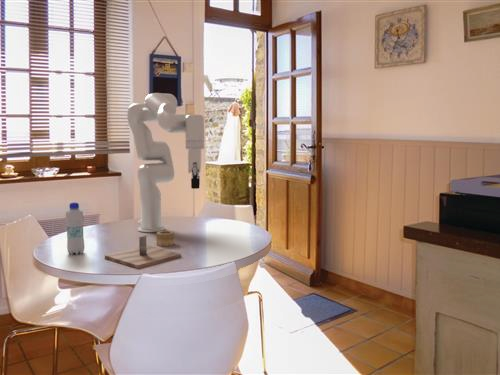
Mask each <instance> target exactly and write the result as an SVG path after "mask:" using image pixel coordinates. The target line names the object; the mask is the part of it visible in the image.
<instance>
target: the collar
mask: <svg viewBox="0 0 500 375" xmlns="http://www.w3.org/2000/svg"><path fill="white" fill-rule="evenodd" d="M174 232H175V231H174V230H173V231H172V230H163V231H158V232H156V246H158V247H170V246H173V245H174V244H175V241H174V240H175V239H174V238H175V235H174V234H175V233H174Z"/></svg>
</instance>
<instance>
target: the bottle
mask: <svg viewBox="0 0 500 375" xmlns="http://www.w3.org/2000/svg"><path fill="white" fill-rule="evenodd" d="M64 218H65V224H66V237H67V244H66V249H67V250H66V251H67V254H69V255H74V253H75V255H77V256H78V255H79V254H80V255H81V254H83V253H84V251H85V240H84V239H85V238H84V220H85V219H84V211H83V210H82V209H80V204H79V203H78V202H71V203H69V209H68V210H66V212H65V217H64Z"/></svg>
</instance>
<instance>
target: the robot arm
mask: <svg viewBox="0 0 500 375" xmlns="http://www.w3.org/2000/svg"><path fill="white" fill-rule="evenodd" d="M177 107H178V100H177V97H176V96H175V95H174V94H172V93H165V92H164V93H161V92H153V93H152V92H151V93H150V94H148V95H147V96H146V97H145V99H144V102H137V103H132V104H131V105H129V106H128V108H127V112H126V114H127V115H126V118H127V122H128V125H129V128H130V130H131V132H132V135H133V136H132V137H133V141H134V145H135V150H136V155H137V158H138V159H139V161H141V162H151V163H144V164H141V165H140V166H139V167H138V169H137V172H136V173H137V178H138V183H139V184H138V185H139V195H140V196H139V198H140V200H139V201H140V220H138V221H137V224H138V225H140V226H138V228H137V230H138V232H141V233H157V232H159V231H165V230H166V227H165V225H162V196H161V195H162V194H161V190H160V188H159V187H158V186H157V184H162V183H163V184H164V183H170V182H172V181H173V180H174V178H175V167H174V164H173V163H174V162H173V158H172V153H171V149H170V146H169V145H168V143H167V142H166V141H161V140H154V139H153V134H152V131H151V129H150V128H149V126H148V125H147V124H146V123H145V122H157V123H158V125H159V127H160V128H162V129H163V130H164V131H166V132H168V133H172V134H175V133H176V134H177V133H179V134H180V133H183V134H184V133H185V150H187V166H188V168H187V170H188V172H187V173H188V174H191V178H190V181H191V183H190V184H191V185H190V186H191V189H193V190H194V189H195V190H197V189H200V182H201V181H200V178H201V177H200V175H199V174H200V173H201V171H202V169H201V168H202V150H204V149H205V118H204V116H203V115H202V114H182V113H181V114H179V113H177Z"/></svg>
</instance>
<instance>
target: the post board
mask: <svg viewBox="0 0 500 375" xmlns="http://www.w3.org/2000/svg"><path fill="white" fill-rule="evenodd" d="M138 242H139V246H138V247H136V248H135V247H134V248H131V249H126V250H122V251H117V252H112V253H108V254H106V255H104V259H105V260H108V261H113V262H116V263H118V264H120V265H121V264H122V265H125V266H128V267H131V268H135V269H137V270H138V269H141V268H145V267H148V266H152V265H156V264H160V263H163V262H166V261H170V260H174V259H178V258H181V257H182V253H179V252H175V251H172V250H168V249H163V248H160V247H156V246H152V245H147V235H139V236H138Z"/></svg>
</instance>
